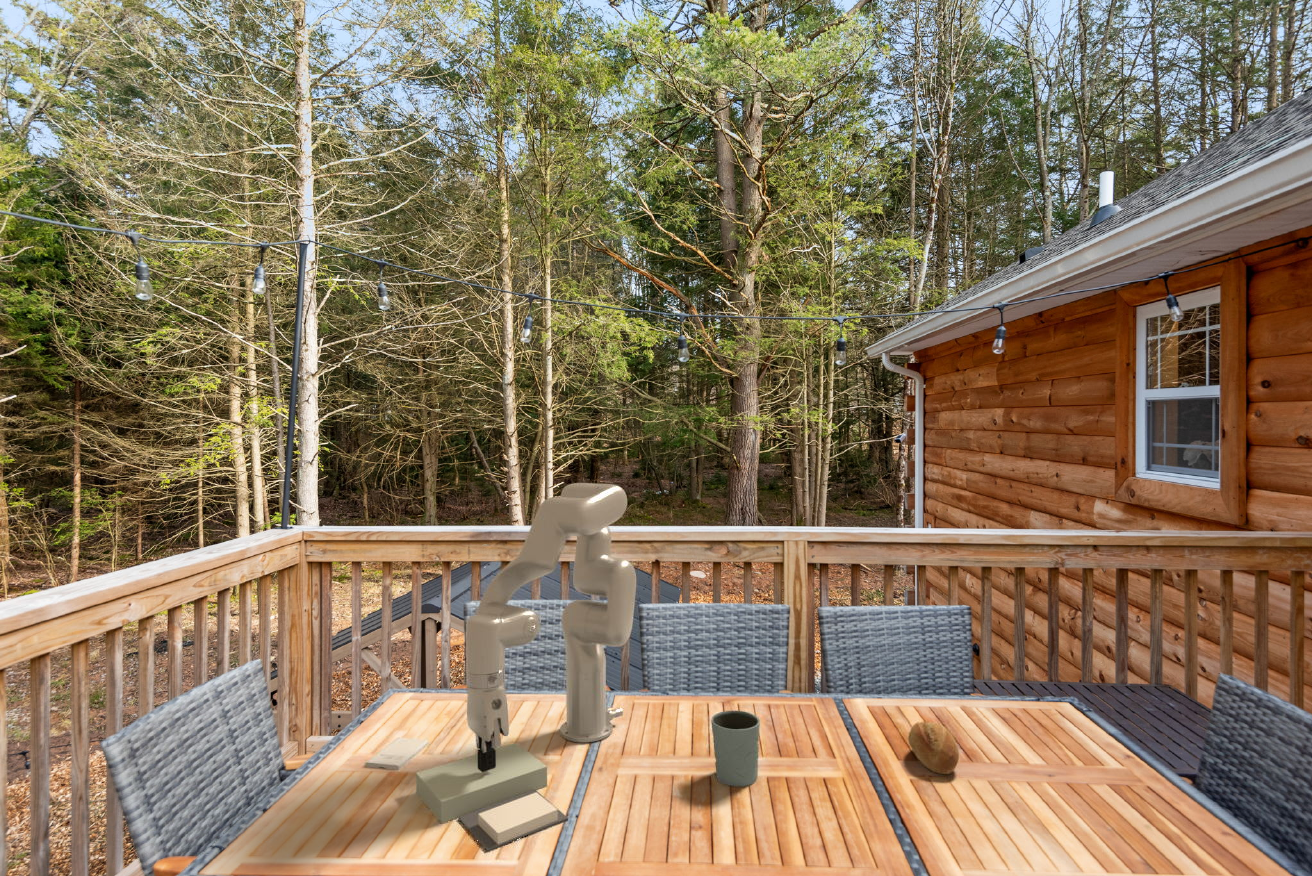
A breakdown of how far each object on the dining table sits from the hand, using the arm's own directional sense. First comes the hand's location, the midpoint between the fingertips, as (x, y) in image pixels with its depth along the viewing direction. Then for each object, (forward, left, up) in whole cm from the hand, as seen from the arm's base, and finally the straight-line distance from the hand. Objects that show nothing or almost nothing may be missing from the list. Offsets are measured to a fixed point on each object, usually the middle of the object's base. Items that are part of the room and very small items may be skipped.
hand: (486, 768), depth 139 cm
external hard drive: (+9, -28, -6) cm, 30 cm away
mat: (0, +12, -5) cm, 13 cm away
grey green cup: (-44, +26, -5) cm, 51 cm away
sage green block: (0, -2, -5) cm, 5 cm away
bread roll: (-82, +48, -5) cm, 95 cm away
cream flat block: (0, +14, -3) cm, 14 cm away
